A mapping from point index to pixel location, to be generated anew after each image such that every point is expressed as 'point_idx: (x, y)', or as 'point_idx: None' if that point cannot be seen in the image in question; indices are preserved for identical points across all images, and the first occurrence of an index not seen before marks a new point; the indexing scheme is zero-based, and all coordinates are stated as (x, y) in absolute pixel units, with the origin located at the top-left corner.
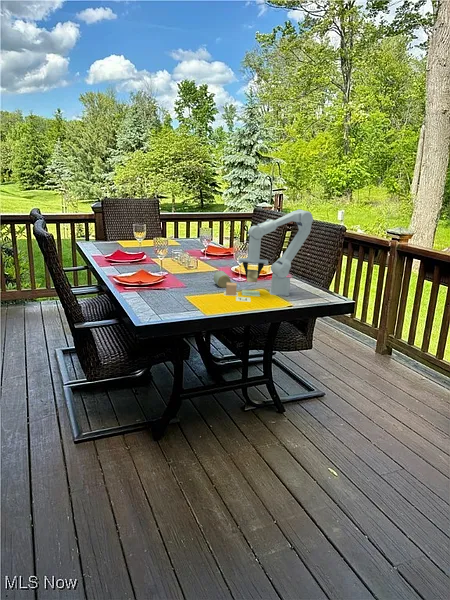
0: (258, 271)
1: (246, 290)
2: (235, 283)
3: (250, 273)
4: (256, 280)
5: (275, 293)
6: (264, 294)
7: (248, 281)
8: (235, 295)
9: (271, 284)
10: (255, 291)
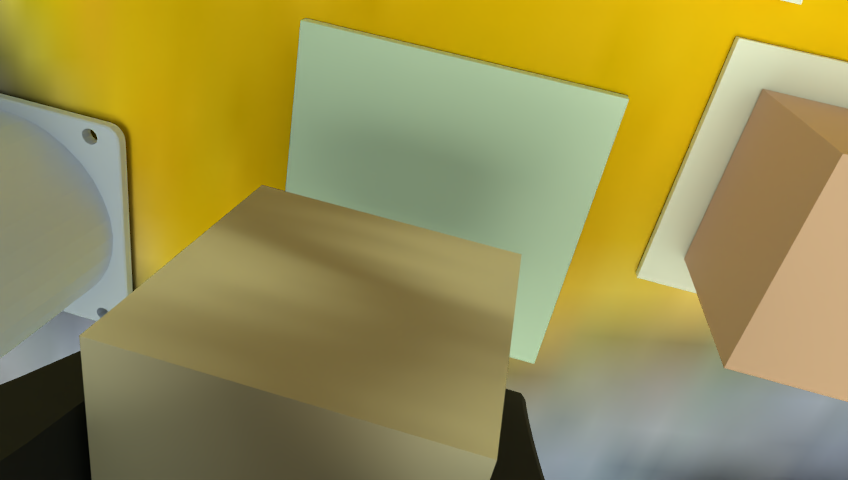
0: (48, 415)
1: None
2: (775, 334)
3: (389, 381)
4: (259, 206)
5: (38, 131)
6: (215, 167)
7: (480, 247)
8: (774, 86)
9: (19, 288)
10: None
